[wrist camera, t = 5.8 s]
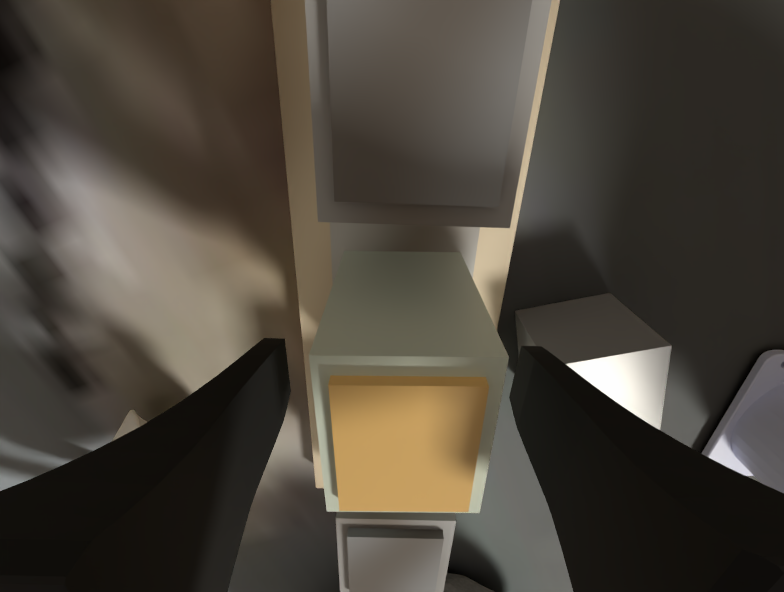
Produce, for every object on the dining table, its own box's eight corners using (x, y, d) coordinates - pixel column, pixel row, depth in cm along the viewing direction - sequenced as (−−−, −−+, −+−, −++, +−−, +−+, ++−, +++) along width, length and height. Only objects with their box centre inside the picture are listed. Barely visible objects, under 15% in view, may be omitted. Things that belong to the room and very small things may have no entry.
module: (460, 252, 13) (513, 366, 7) (448, 368, 15) (482, 524, 9) (344, 250, 13) (305, 364, 7) (350, 367, 15) (324, 523, 9)
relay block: (608, 291, 16) (672, 345, 12) (605, 365, 18) (659, 430, 14) (514, 309, 16) (548, 367, 13) (520, 380, 18) (552, 447, 14)
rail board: (552, -35, 11) (755, -216, 5) (462, 471, 21) (490, 621, 15) (277, -47, 11) (126, -245, 5) (319, 468, 21) (289, 617, 15)
